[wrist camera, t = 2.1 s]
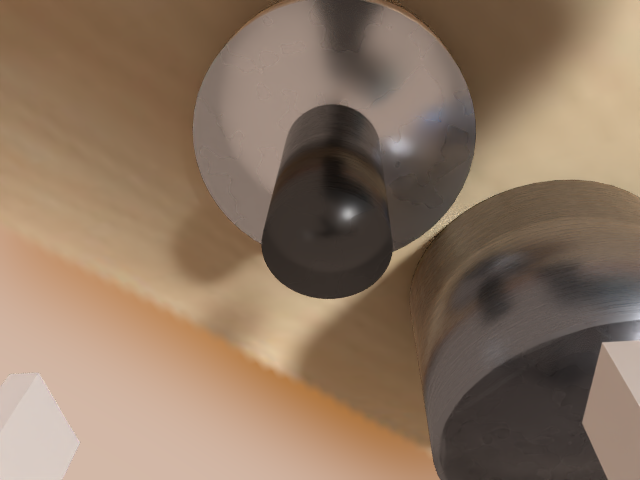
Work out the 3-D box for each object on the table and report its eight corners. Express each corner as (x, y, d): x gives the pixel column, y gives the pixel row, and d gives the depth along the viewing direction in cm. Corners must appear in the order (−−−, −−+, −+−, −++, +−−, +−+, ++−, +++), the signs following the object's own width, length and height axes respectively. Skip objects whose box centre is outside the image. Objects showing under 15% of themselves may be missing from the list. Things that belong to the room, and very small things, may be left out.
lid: (171, 8, 23) (70, 74, 14) (473, -29, 21) (553, 20, 13) (232, 250, 30) (188, 386, 22) (462, 233, 29) (509, 373, 20)
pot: (406, 192, 27) (433, 324, 19) (713, 167, 26) (889, 299, 17) (411, 385, 35) (431, 536, 27) (643, 375, 34) (740, 532, 25)
